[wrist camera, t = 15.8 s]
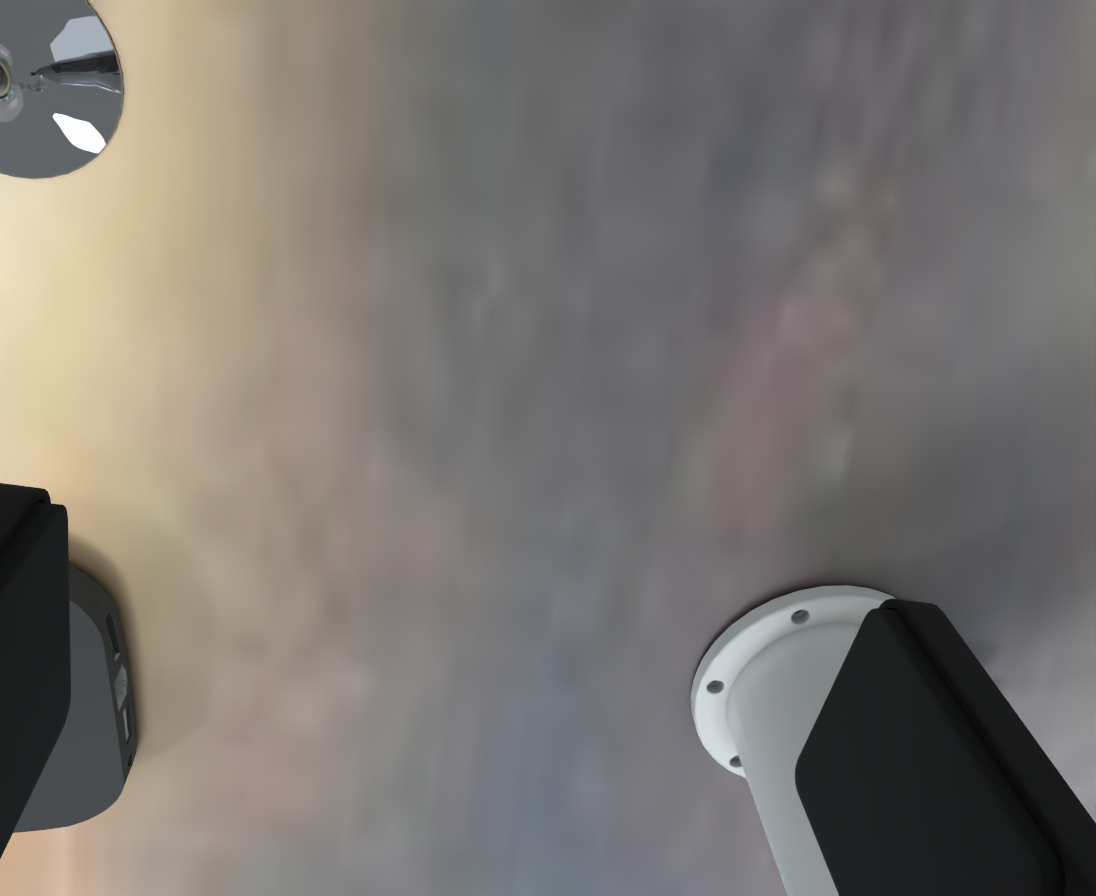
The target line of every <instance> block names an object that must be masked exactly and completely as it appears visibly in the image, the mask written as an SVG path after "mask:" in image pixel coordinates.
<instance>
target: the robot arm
mask: <svg viewBox="0 0 1096 896" xmlns="http://www.w3.org/2000/svg"><path fill="white" fill-rule="evenodd" d="M70 701H71V657H70V606H69V555H68V516H67V510H66V507H65V506H63V505H58V504H51V501H50V496H49V494H48V492H47V491H46V490H45V489H41V488H33V487H26V486H18V485H10V484H2V483H0V858H1V856H2V854H3V852H4V850H5V848H6V846H7V844H8V842H9V840H10V838H11V835H12V833H13V831H14V829H15V827H16V825H17V823H18V821H19V819H20V817H21V815H22V813H23V811H24V808H25V806H26V804H27V802H28V800H29V798H30V796H31V794H32V792H33V790H34V788H35V786H36V784H37V781H38V779H39V777H40V775H41V773H42V771H43V769H44V767H45V765H46V763H47V761H48V759H49V757H50V754H51V752H52V750H53V748H54V746H55V744H56V742H57V740H58V738H59V736H60V734H61V732H62V729H63V727H64V725H65V722H66V719H67V715H68V711H69V707H70ZM691 712H692V716H693V719H694V723H695V726H696V730H697V733H698V735H699V737H700V739H701V741H702V743H703V745H704V747H705V749H706V750H707V751H708V752H709V753H710V755H711V756H712V757H713V758H714V759H715V760H716V761H717V762H718V763H719V764H721V765H722V766H723V767H725V768H726V769H728V770H729V771H731V772H733V773H735V774H738V775H740V776H742V777H744V778H746V779H747V781H748V784H749V787H750V790H751V793H752V796H753V799H754V801H755V804H756V807H757V810H758V813H759V816H760V819H761V821H762V824H763V827H764V830H765V833H766V836H767V839H768V841H769V844H770V847H771V850H772V853H773V856H774V859H775V861H776V864H777V867H778V870H779V873H780V876H781V879H782V881H783V884H784V887H785V890H786V893H787V896H1096V823H1095V822H1094V820H1093V819H1092V818H1091V816H1090V815H1089V813H1088V812H1087V811H1086V809H1085V808H1084V807H1083V805H1082V804H1081V802H1080V801H1079V800H1078V798H1077V797H1076V795H1075V794H1074V793H1073V791H1072V790H1071V789H1070V787H1069V786H1068V784H1067V783H1066V782H1065V780H1064V779H1063V777H1062V776H1061V775H1060V773H1059V772H1058V771H1057V769H1056V768H1055V766H1054V765H1053V764H1052V762H1051V761H1050V759H1049V758H1048V757H1047V755H1046V754H1045V753H1044V751H1043V750H1042V748H1041V747H1040V746H1039V744H1038V743H1037V741H1036V740H1035V739H1034V737H1033V736H1032V735H1031V733H1030V732H1029V730H1028V729H1027V728H1026V726H1025V725H1024V723H1023V722H1022V721H1021V719H1020V718H1019V716H1018V715H1017V714H1016V712H1015V711H1014V710H1013V708H1012V707H1011V705H1010V704H1009V703H1008V701H1007V700H1006V698H1005V697H1004V696H1003V694H1002V693H1001V692H1000V690H999V689H998V687H997V686H996V685H995V683H994V682H993V680H992V679H991V678H990V676H989V675H988V674H987V672H986V671H985V669H984V668H983V667H982V665H981V664H980V662H979V661H978V660H977V658H976V657H975V656H974V654H973V653H972V651H971V650H970V649H969V647H968V646H967V644H966V643H965V642H964V640H963V639H962V638H961V636H960V635H959V633H958V632H957V631H956V629H955V628H954V626H953V625H952V624H951V622H950V621H949V620H948V618H947V617H946V615H945V614H944V613H943V611H942V610H941V609H940V608H939V607H938V606H937V605H934V604H931V603H923V602H916V601H908V600H900V599H896V598H895V597H893V596H891V595H889V594H886V593H883V592H880V591H877V590H873V589H870V588H864V587H856V586H848V585H841V586H820V587H815V588H810V589H805V590H799V591H796V592H793V593H790V594H787V595H784V596H781V597H778V598H775V599H773V600H771V601H769V602H767V603H765V604H763V605H761V606H759V607H757V608H755V609H753V610H751V611H750V612H748V613H747V614H746V615H744V616H743V617H742V618H740V619H739V620H737V621H736V622H735V623H733V624H732V625H731V626H730V627H729V628H728V629H727V630H726V631H725V632H724V633H723V634H722V635H721V636H720V637H719V638H718V639H717V640H716V641H715V642H714V643H713V644H712V646H711V647H710V649H709V650H708V652H707V653H706V654H705V656H704V657H703V659H702V661H701V663H700V665H699V667H698V670H697V672H696V674H695V676H694V681H693V686H692V691H691Z"/></svg>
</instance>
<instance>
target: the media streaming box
mask: <svg viewBox="0 0 1096 896" xmlns="http://www.w3.org/2000/svg"><path fill="white" fill-rule="evenodd" d="M69 606H70V657H71V701H70V707H69V711H68V715H67V719H66V722H65V725H64V727H63V729H62V732H61V734H60V736H59V738H58V740H57V742H56V744H55V746H54V748H53V750H52V752H51V754H50V757H49V759H48V761H47V763H46V765H45V767H44V769H43V771H42V773H41V775H40V777H39V779H38V781H37V784H36V786H35V788H34V790H33V792H32V794H31V796H30V798H29V800H28V802H27V804H26V806H25V808H24V811H23V813H22V815H21V817H20V819H19V821H18V823H17V825H16V827H15V829H14V831H13V833H15V832H26V831H36V830H45V829H53V828H60V827H67V826H70V825H74V824H77V823H80V822H83V821H85V820H88V819H90V818H92V817H94V816H96V815H98V814H100V813H102V812H103V811H105V810H106V809H107V808H109V807H110V806H111V805H112V804H113V803H114V802H115V801H116V800H117V799H118V797H119V796H120V794H121V792H122V790H123V787H124V785H125V782H126V779H127V777H128V774H129V772H130V769H131V766H132V764H133V761H134V758H135V755H136V731H135V718H134V707H133V698H132V690H131V682H130V675H129V668H128V662H127V656H126V651H125V645H124V640H123V635H122V630H121V625H120V620H119V616H118V611H117V609H116V607H115V605H114V603H113V602H112V600H111V598H110V597H109V596H108V595H107V593H106V592H105V591H104V590H103V589H102V588H101V587H100V586H99V585H98V584H97V583H96V582H95V581H94V580H93V579H91V578H90V577H89V576H87V575H86V574H84V573H83V572H81V571H80V570H78V569H76V568H74V567H72V566H70V565H69Z"/></svg>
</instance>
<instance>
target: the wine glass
mask: <svg viewBox="0 0 1096 896" xmlns="http://www.w3.org/2000/svg"><path fill="white" fill-rule="evenodd" d="M123 94H124V93H123V79H122V71H121V67H120V63H119V59H118V55H117V52H116V50H115V47H114V45H113V43H112V40H111V38H110V35H109V33H108V32H107V30H106V28H105V27H104V25H103V23H102V22H101V20H100V18H99V17H98V15H97V14H96V12H95V11H94V10H93V9H92V8H91V6H90V5H89V4H88V3H87V1H86V0H0V173H2V174H6V175H9V176H13V177H21V178H30V179H39V178H52V177H56V176H61V175H65V174H69V173H71V172H73V171H75V170H77V169H79V168H81V167H84V166H85V165H86V164H88V163H89V162H90V161H92V160H93V159H94V158H96V157H97V156H98V155H99V154H100V153H101V151H102V150H103V149H104V148H105V147H106V146H107V145H108V143H109V141H110V140H111V138H112V136H113V134H114V132H115V130H116V129H117V125H118V122H119V119H120V115H121V112H122V103H123Z"/></svg>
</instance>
